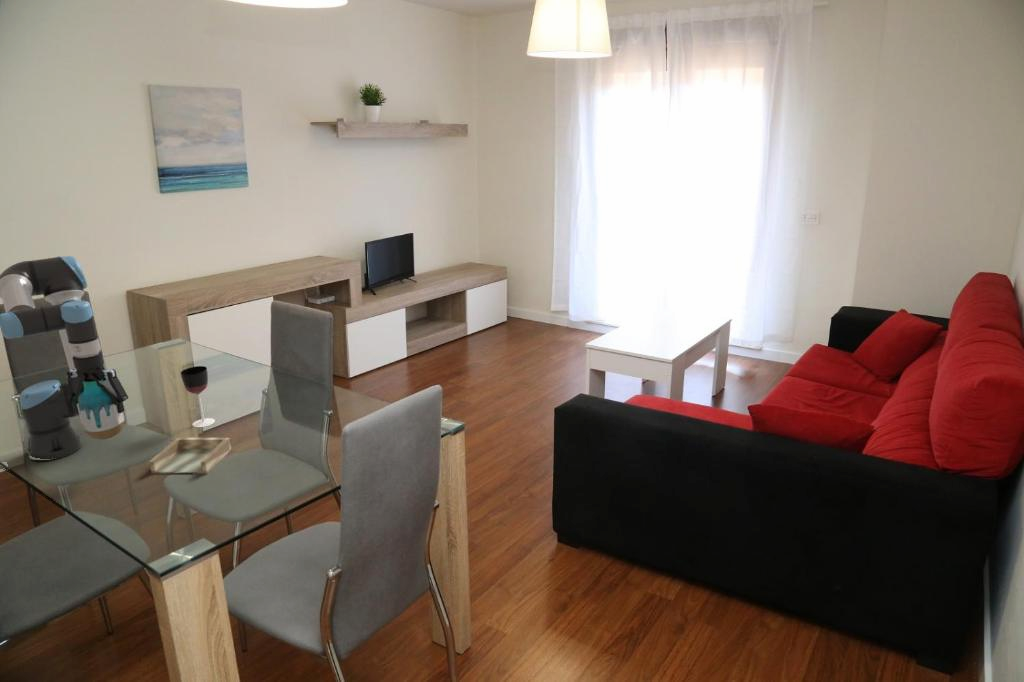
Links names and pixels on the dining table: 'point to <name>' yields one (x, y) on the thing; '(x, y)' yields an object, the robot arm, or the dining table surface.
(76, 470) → the dining table surface
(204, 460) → the rest
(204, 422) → the wineglass
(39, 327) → the robot arm
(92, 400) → the vase
